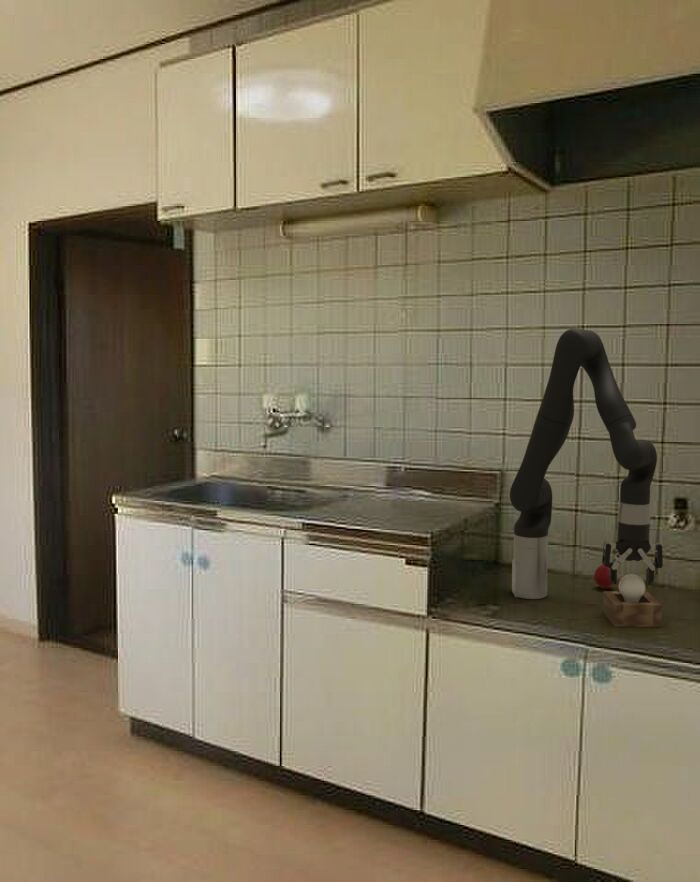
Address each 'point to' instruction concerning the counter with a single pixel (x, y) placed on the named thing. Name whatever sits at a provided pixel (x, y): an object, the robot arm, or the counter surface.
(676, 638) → the counter surface
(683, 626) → the counter surface
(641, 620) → the socket block
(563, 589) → the counter surface
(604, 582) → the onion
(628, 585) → the lightbulb
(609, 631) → the counter surface
